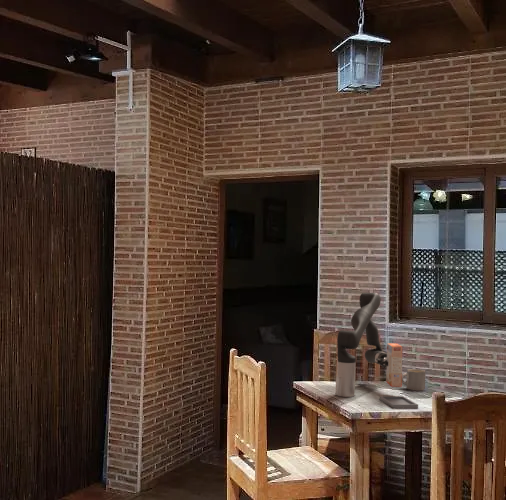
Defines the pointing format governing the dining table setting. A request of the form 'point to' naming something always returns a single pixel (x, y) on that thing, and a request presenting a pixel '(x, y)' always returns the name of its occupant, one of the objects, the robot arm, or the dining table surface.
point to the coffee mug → (414, 379)
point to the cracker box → (394, 365)
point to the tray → (398, 402)
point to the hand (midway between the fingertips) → (394, 363)
